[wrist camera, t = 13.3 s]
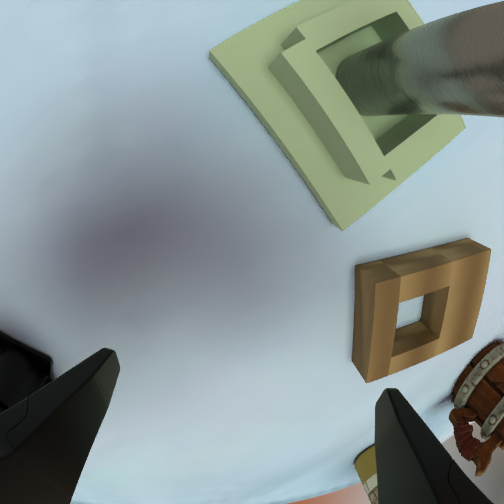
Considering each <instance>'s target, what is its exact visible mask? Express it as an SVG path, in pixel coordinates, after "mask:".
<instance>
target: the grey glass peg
mask: <svg viewBox="0 0 504 504" xmlns="http://www.w3.org/2000/svg"><path fill="white" fill-rule="evenodd" d="M335 78H336V80H337V81H338V82H339V84H340V85H341V87H342V88H343V90H344V91H345V93H346V94H347V96H348V97H349V99H350V100H351V102H352V103H353V105H354V106H355V108H356V110H357V111H358V113H359V114H360V115H363V116H385V115H411V114H453V115H478V116H493V117H504V1H502V2H497V3H493V4H489V5H485V6H481V7H477V8H474V9H470V10H466V11H463V12H460V13H456V14H453V15H450V16H447V17H444V18H441V19H438V20H435V21H432V22H429V23H426V24H424V25H421V26H418V27H415V28H413V29H410V30H408V31H405V32H403V33H400V34H398V35H395V36H393V37H390V38H388V39H386V40H383V41H381V42H379V43H376V44H374V45H372V46H370V47H367V48H365V49H363V50H361V51H359V52H357V53H354V54H352V55H350V56H348V57H347V58H345V59H344V60H343V61H342V62H341V63H340V64H339V66H338V68H337V71H336V77H335Z"/></svg>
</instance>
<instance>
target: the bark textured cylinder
mask: <svg viewBox="0 0 504 504" xmlns="http://www.w3.org/2000/svg"><path fill="white" fill-rule="evenodd" d="M355 469H356V471H357V473H358V475H359V477H360V480H361V482H362V484H363V486H364V489H365V491H366V493H367V495H368V497H369V500H370V502H371V504H378V487H377V471H376V457H375V445H374V446H372V447H370V448H369V449H367V450H366V451H364V452H363V453H362V454H361V455H360V456H359V457H358V458H357V460H356V462H355Z"/></svg>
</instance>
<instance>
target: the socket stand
mask: <svg viewBox="0 0 504 504" xmlns="http://www.w3.org/2000/svg"><path fill="white" fill-rule="evenodd" d="M421 25H424V23H423V21H422V20H421V18H420V17H419V15H418V14H417V12H416V11H415V10H414V8H413V7H412V5H411V4H410V3H409V1H408V0H301V1H299V2H297V3H294V4H292V5H290V6H288V7H286V8H284V9H282V10H280V11H278V12H276V13H274V14H272V15H270V16H268V17H266V18H264V19H262V20H260V21H259V22H257V23H255V24H253V25H251V26H249V27H248V28H246V29H244V30H242V31H241V32H239V33H237V34H236V35H234V36H232V37H231V38H229V39H227V40H226V41H224V42H222V43H221V44H219V45H218V46H216V47H215V48H213V49H212V50H210V52H209V59H210V60H211V61H212V62H213V63H214V64H215V66H216V67H217V68H218V69H219V70H220V71H221V73H222V74H223V75H224V76H225V77H226V79H227V80H228V81H229V82H230V83H231V85H232V86H233V87H234V88H235V90H236V91H237V92H238V93H239V94H240V96H241V97H242V98H243V99H244V101H245V102H246V103H247V105H248V106H249V107H250V108H251V110H252V111H253V112H254V113H255V115H256V116H257V117H258V119H259V120H260V121H261V123H262V124H263V125H264V126H265V128H266V129H267V130H268V132H269V133H270V134H271V136H272V137H273V138H274V140H275V141H276V142H277V144H278V145H279V147H280V148H281V149H282V151H283V152H284V153H285V155H286V156H287V158H288V159H289V160H290V162H291V163H292V165H293V166H294V167H295V169H296V170H297V172H298V173H299V174H300V176H301V177H302V179H303V180H304V182H305V183H306V185H307V186H308V187H309V189H310V190H311V192H312V193H313V195H314V196H315V198H316V199H317V201H318V202H319V204H320V205H321V207H322V208H323V210H324V211H325V213H326V214H327V216H328V217H329V219H330V221H331V222H332V224H333V225H334V226H336V227H337V228H339V229H340V230H342V231H343V230H345V229H346V228H347V227H348V226H350V225H351V224H352V223H353V222H355V221H356V220H357V219H358V218H360V217H361V216H362V215H363V214H365V213H366V212H367V211H368V210H370V209H371V208H372V207H373V206H374V205H376V204H377V203H378V202H379V201H381V200H382V199H383V198H384V197H385V196H387V195H388V194H389V193H390V192H392V191H393V190H394V189H395V188H396V187H398V186H399V185H400V184H401V183H402V182H404V181H405V180H406V179H407V178H408V177H410V176H411V175H412V174H413V173H414V172H415V171H417V170H418V169H419V168H420V167H421V166H423V165H424V164H425V163H426V162H427V161H428V160H430V159H431V158H432V157H433V156H434V155H435V154H436V153H438V152H439V151H440V150H441V149H442V148H443V147H445V146H446V145H447V144H448V143H449V142H450V141H451V140H453V139H454V138H455V137H456V136H457V135H458V134H459V133H460V132H462V131H463V130H464V129H465V128H466V127H465V124H464V122H463V119H462V117H461V115H453V114H411V115H385V116H363V115H360V114H359V113H358V111H357V110H356V108H355V106H354V105H353V103H352V102H351V100H350V99H349V97H348V96H347V94H346V93H345V91H344V90H343V88H342V87H341V85H340V84H339V82H338V81H337V80H336V78H335V77H336V71H337V68H338V66H339V64H340V63H341V62H342V61H343V60H344V59H345V58H347V57H348V56H350V55H352V54H354V53H357V52H359V51H361V50H363V49H365V48H367V47H370V46H372V45H374V44H376V43H379V42H381V41H383V40H386V39H388V38H390V37H393V36H395V35H398V34H400V33H403V32H405V31H408V30H410V29H413V28H415V27H418V26H421Z"/></svg>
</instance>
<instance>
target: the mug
mask: <svg viewBox="0 0 504 504" xmlns="http://www.w3.org/2000/svg"><path fill="white" fill-rule="evenodd" d="M452 399H453V402H454V409H452V411H451V412H450V414H449V420H450V421H451V423H452V424H453V426H454V428H453V429H454V435H455V439H456V445H457V447H458V450H459V452H460V453H461V456H463V457H464V458H465V459H466V460H468V461H470V460H472V461H474V463H475V465H476V466H477V467H476V473H475V476H481V475H482V474H483V473H484V472H485V470H486V469H487V467H488V465H489V463H490V461H491V455H492V452H493V451H494V450H495V449H496V448H497V447H500V448H501V449H502V450H504V343H503V342H497V343H496V342H495V343H493V344H490V345H489V346H487V347H486V348H485V349H484V350H482V351H481V352H480V353H479V354H478V355H477V356H476V357H475V358H474V359H473V360H472V365H468V366H467V368H466V369H465V370H464V372H463V373H462V374H461V376H460V378H459V379H458V381H457V383H456V385H455V387H454V390H453V394H452ZM473 421H475V422H476V423H477V424H478V425H479V426H480V427H481V433H480V434H481V437H482V438H485V439H486V441H485V442H482V443H481V442H480V440H478V439H476V438H473V436H472V432H473V426H472V425H469V423H468V422H473Z"/></svg>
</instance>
